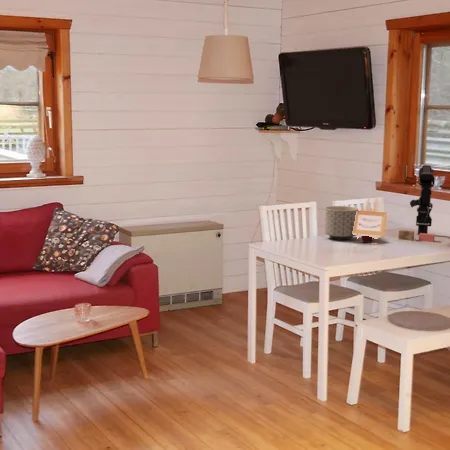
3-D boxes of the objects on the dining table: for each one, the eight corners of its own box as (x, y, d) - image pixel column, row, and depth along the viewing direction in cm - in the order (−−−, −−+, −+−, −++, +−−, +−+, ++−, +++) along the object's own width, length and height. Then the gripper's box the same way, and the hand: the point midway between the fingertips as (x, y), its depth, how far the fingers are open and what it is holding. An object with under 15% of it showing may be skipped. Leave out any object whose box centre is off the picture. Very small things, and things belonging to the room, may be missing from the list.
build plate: (399, 238, 448) (399, 236, 447) (419, 240, 442) (419, 238, 442) (392, 241, 437) (393, 239, 437) (413, 243, 432) (413, 241, 431)
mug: (371, 240, 440) (372, 223, 439) (380, 243, 433) (381, 225, 432) (357, 242, 435) (358, 224, 434) (366, 244, 428) (366, 227, 427)
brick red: (418, 242, 437) (418, 233, 436) (420, 241, 440) (420, 233, 440) (432, 243, 433) (432, 235, 432) (434, 242, 436) (434, 234, 436)
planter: (331, 242, 433) (332, 211, 430) (319, 236, 452) (320, 206, 449) (362, 241, 438) (363, 210, 435) (349, 235, 456) (350, 205, 453)
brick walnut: (398, 239, 440) (398, 230, 439) (400, 238, 443) (400, 229, 442) (411, 240, 436) (412, 232, 435) (413, 239, 439) (414, 231, 438)
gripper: (414, 192, 443) (412, 218, 446) (408, 196, 426) (407, 223, 429) (433, 193, 439) (431, 219, 442) (428, 197, 422) (427, 225, 425)
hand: (424, 221), depth 435 cm, fingers open, 9 cm apart
